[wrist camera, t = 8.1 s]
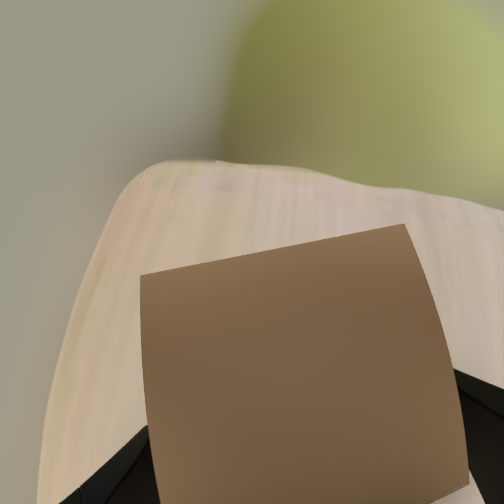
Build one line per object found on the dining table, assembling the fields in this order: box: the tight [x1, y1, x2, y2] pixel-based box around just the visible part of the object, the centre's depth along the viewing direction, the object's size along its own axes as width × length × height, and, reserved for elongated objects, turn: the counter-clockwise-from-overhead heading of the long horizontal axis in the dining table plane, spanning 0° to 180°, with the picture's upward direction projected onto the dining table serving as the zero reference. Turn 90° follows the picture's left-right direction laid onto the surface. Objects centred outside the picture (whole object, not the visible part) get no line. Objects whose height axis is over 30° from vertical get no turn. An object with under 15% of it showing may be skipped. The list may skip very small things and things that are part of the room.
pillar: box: [140, 224, 469, 504], centre depth 9 cm, size 4×4×12 cm
